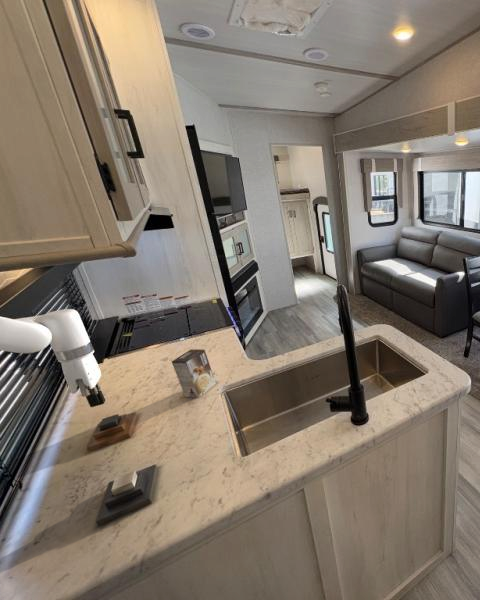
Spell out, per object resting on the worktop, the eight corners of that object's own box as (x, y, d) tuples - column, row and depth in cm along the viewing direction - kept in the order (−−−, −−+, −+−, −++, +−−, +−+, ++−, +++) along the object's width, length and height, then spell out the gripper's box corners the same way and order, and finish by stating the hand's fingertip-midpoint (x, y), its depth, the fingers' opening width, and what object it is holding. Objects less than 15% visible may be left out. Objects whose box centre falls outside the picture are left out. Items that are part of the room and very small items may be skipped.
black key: (101, 431, 96) (98, 426, 95) (104, 423, 99) (102, 418, 98) (117, 426, 98) (115, 420, 97) (120, 418, 101) (118, 413, 100)
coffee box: (202, 383, 124) (191, 348, 118) (216, 384, 123) (205, 348, 117) (184, 398, 115) (170, 361, 110) (199, 399, 114) (186, 361, 109)
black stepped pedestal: (99, 528, 71) (92, 516, 69) (111, 488, 80) (105, 477, 79) (152, 504, 75) (147, 493, 74) (158, 469, 85) (153, 459, 84)
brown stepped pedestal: (89, 453, 92) (83, 443, 91) (100, 429, 102) (95, 419, 101) (131, 438, 97) (126, 428, 96) (137, 416, 107) (133, 407, 105)
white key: (114, 496, 74) (111, 490, 73) (118, 484, 77) (114, 478, 77) (135, 488, 76) (132, 482, 75) (137, 476, 79) (135, 470, 78)
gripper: (66, 345, 93) (89, 396, 99) (46, 366, 81) (73, 423, 87) (99, 338, 97) (119, 388, 103) (84, 358, 84) (108, 412, 90)
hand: (98, 404), depth 95 cm, fingers closed
